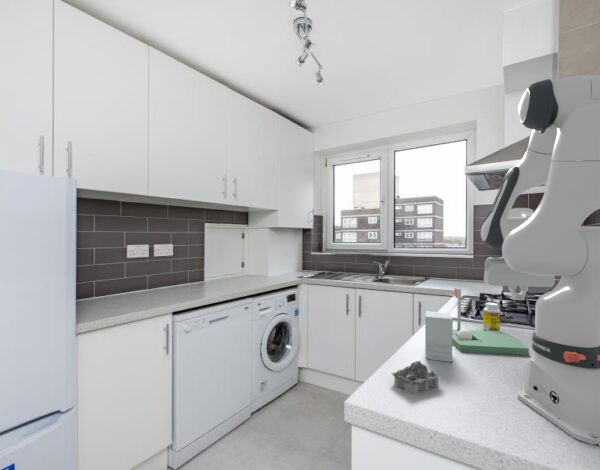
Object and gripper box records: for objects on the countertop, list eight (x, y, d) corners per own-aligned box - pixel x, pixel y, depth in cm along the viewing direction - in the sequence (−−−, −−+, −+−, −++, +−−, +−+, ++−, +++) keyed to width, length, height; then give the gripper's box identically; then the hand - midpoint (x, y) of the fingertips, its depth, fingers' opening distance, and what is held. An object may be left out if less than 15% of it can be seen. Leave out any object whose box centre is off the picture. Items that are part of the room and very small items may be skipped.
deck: (528, 354, 97) (529, 299, 96) (459, 351, 99) (460, 297, 99) (497, 334, 116) (498, 288, 116) (440, 331, 118) (441, 286, 118)
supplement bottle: (490, 333, 117) (490, 305, 117) (479, 328, 123) (480, 302, 123) (503, 332, 118) (504, 305, 118) (492, 327, 124) (493, 301, 124)
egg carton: (420, 374, 83) (420, 359, 83) (444, 388, 77) (444, 371, 77) (388, 382, 79) (388, 366, 79) (410, 397, 72) (411, 379, 72)
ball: (462, 347, 105) (476, 343, 104) (458, 334, 105) (471, 330, 104) (457, 341, 109) (470, 338, 109) (453, 329, 109) (466, 325, 109)
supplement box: (450, 353, 97) (451, 312, 97) (452, 363, 90) (453, 319, 90) (424, 350, 100) (425, 310, 100) (424, 358, 93) (425, 316, 93)
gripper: (489, 257, 102) (489, 300, 102) (558, 258, 100) (558, 302, 100) (480, 256, 108) (480, 296, 108) (545, 257, 106) (545, 299, 106)
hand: (518, 299), depth 104 cm, fingers closed
